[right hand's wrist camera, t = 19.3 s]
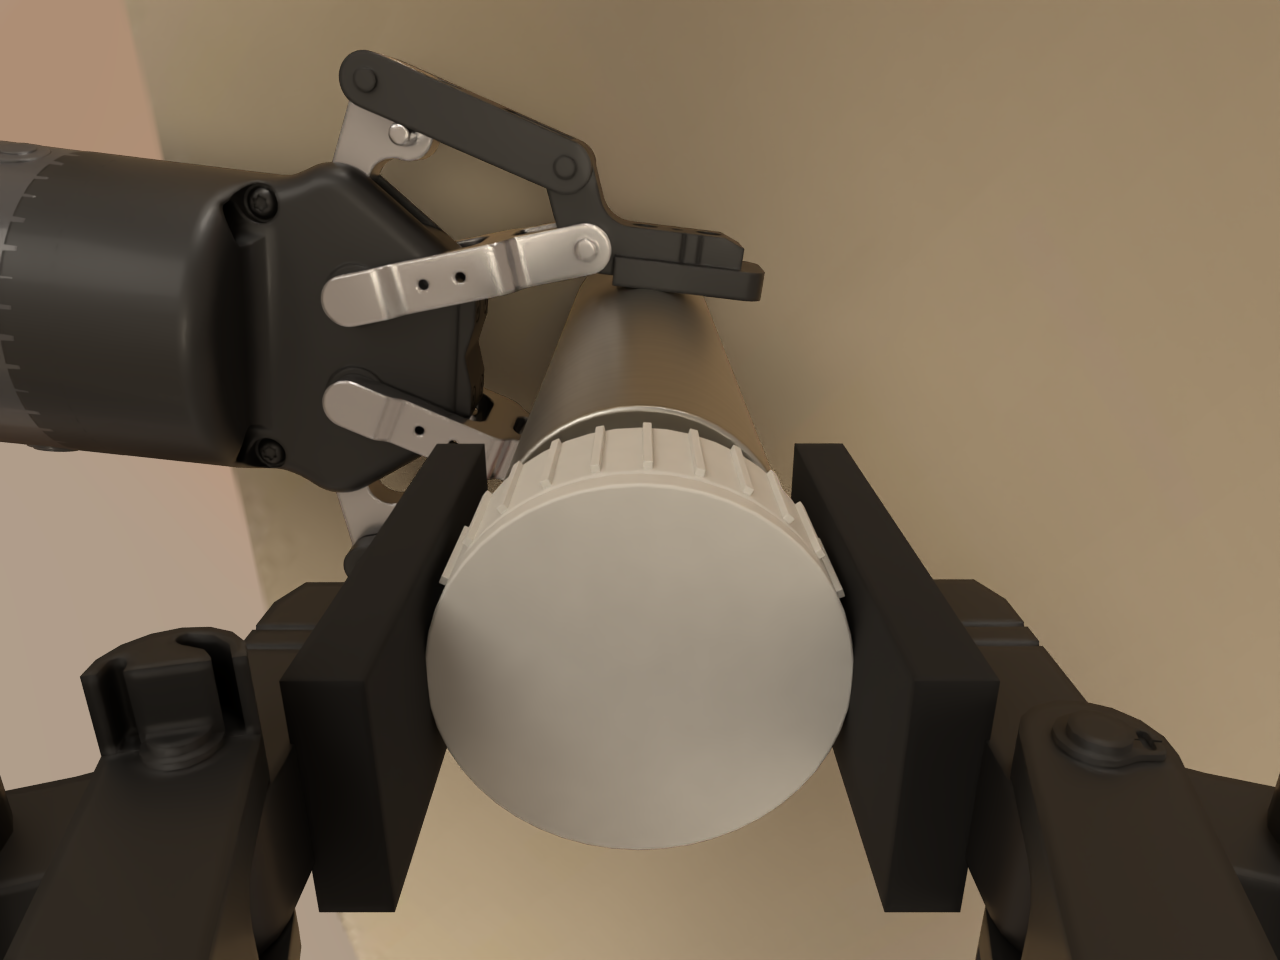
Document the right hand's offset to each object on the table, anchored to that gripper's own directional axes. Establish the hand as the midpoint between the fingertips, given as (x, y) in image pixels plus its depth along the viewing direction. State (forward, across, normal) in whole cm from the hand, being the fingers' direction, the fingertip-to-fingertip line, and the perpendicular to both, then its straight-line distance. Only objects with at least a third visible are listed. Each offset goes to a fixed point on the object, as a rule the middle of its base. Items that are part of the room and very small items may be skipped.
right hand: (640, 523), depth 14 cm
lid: (-4, 0, 0) cm, 4 cm away
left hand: (+10, -3, 0) cm, 10 cm away
